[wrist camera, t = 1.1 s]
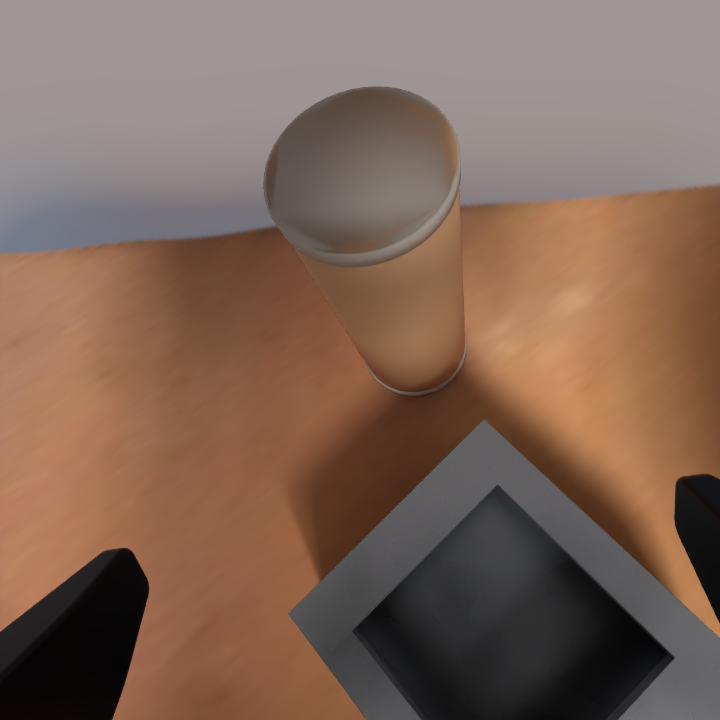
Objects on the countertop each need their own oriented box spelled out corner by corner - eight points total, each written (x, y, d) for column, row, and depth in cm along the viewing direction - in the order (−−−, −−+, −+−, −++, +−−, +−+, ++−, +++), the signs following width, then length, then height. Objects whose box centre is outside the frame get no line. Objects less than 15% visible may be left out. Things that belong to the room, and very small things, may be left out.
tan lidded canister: (488, 344, 23) (505, 152, 11) (414, 417, 23) (351, 296, 11) (415, 281, 25) (363, 56, 13) (344, 349, 24) (227, 180, 13)
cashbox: (700, 642, 18) (768, 675, 14) (516, 842, 18) (529, 939, 13) (484, 438, 22) (487, 415, 18) (324, 597, 21) (288, 613, 17)
